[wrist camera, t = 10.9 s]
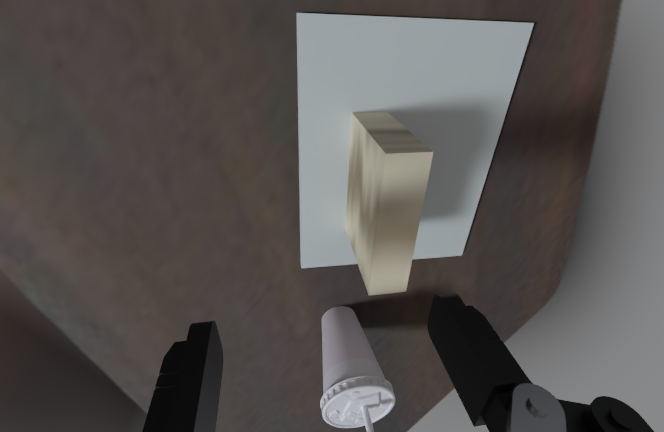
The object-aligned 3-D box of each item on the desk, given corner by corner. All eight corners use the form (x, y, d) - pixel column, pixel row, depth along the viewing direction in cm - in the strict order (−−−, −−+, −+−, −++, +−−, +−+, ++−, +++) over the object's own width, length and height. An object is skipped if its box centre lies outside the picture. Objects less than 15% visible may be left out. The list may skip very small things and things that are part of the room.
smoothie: (379, 310, 36) (432, 454, 24) (341, 344, 38) (374, 492, 26) (334, 288, 33) (371, 440, 21) (297, 326, 35) (311, 484, 24)
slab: (352, 112, 23) (385, 153, 17) (387, 111, 24) (434, 151, 17) (345, 228, 29) (368, 295, 22) (374, 226, 29) (406, 291, 22)
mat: (296, 12, 20) (297, 12, 20) (528, 22, 23) (534, 23, 22) (300, 264, 31) (301, 268, 30) (459, 251, 33) (461, 255, 33)
